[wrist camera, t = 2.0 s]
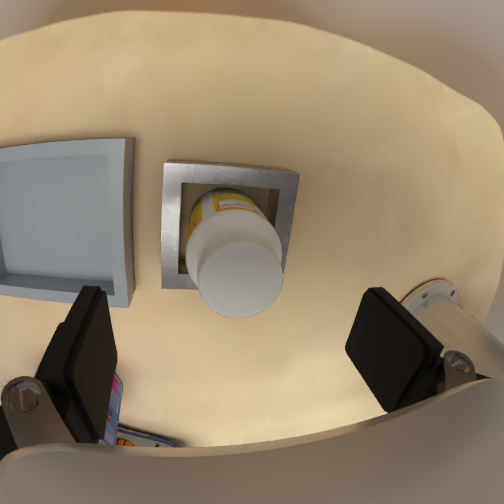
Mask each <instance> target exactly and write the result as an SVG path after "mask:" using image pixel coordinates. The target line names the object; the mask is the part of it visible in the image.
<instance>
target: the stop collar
mask: <svg viewBox="0 0 504 504" xmlns="http://www.w3.org/2000/svg"><path fill="white" fill-rule="evenodd" d="M298 181H299V174H298V173H296V172H293V171H291V170H288V169H280V168H271V167H262V166H252V165H242V164H230V163H217V162H202V161H184V160H167V161H166V162H165V163H164V173H163V192H162V222H161V276H162V288H167V289H195V290H199V288H198V287H197V286H196V284H195V283H194V282H193V280H192V279H191V277H190V275H189V273H188V270H187V266H186V260H180V230H181V207H182V190H183V182H187V183H206V184H222V185H236V186H248V187H260V188H270V196H269V203H268V211H267V220H268V221H269V222H270V224H271V225H272V226H273V228H274V229H275V231H276V232H277V234H278V236H279V239H280V242H281V247H282V260H281V267H282V271H283V273H284V267H285V261H286V255H287V250H288V244H289V238H290V232H291V226H292V219H293V213H294V207H295V200H296V194H297V187H298Z"/></svg>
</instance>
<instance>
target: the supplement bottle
mask: <svg viewBox="0 0 504 504" xmlns="http://www.w3.org/2000/svg"><path fill="white" fill-rule="evenodd" d="M185 257H186V266H187V270H188V273H189V275H190V277H191V279H192V280H193V282H194V283H195V284H196V286H197V287H198V288H199V292H200V295H201V297H202V299H203V301H204V302H205V303H206V305H207V306H208V307H209V308H211V309H212V310H213V311H215V312H216V313H218V314H220V315H223V316H225V317H231V318H246V317H250V316H254V315H256V314H258V313H260V312H262V311H264V310H265V309H267V308H268V307H269V306H270V305H271V304H272V303H273V302H274V301H275V300H276V298H277V296H278V295H279V293H280V291H281V288H282V284H283V271H282V267H281V260H282V247H281V242H280V239H279V236H278V234H277V232H276V231H275V229H274V228H273V226H272V225H271V224H270V222H269V221H268V220H267V218H266V217H265V216H264V214H263V213H262V212H261V210H260V209H259V208H258V207H257V205H256V204H255V203H254V202H253V200H252V199H251V198H250V197H249V196H247V195H246V194H245V193H243V192H241V191H239V190H236V189H231V188H220V189H215V190H212V191H210V192H208V193H206V194H205V195H203V196H202V197H201V198H200V199H199V200H198V201H197V202H196V204H195V205H194V207H193V209H192V212H191V215H190V219H189V227H188V236H187V244H186V256H185Z"/></svg>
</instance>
